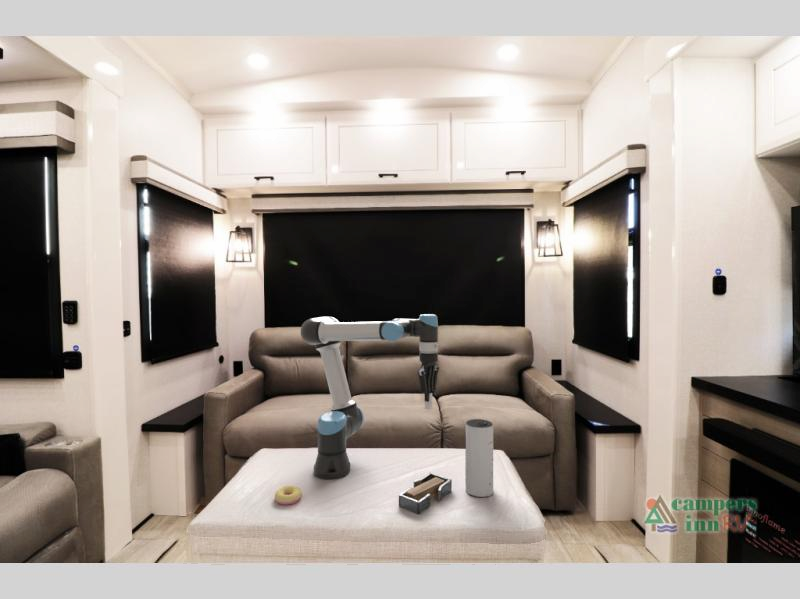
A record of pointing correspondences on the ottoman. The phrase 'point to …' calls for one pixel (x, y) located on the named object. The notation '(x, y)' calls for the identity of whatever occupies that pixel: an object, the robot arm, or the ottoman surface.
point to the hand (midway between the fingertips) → (428, 408)
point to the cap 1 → (414, 502)
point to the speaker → (479, 457)
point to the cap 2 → (443, 488)
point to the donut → (288, 495)
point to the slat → (425, 489)
